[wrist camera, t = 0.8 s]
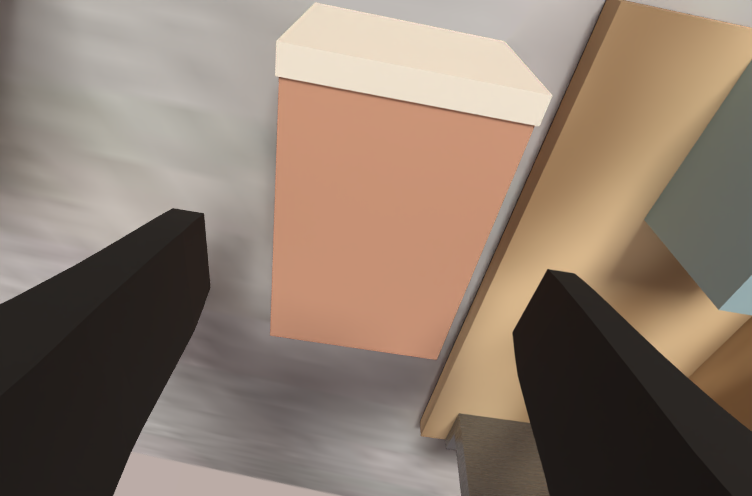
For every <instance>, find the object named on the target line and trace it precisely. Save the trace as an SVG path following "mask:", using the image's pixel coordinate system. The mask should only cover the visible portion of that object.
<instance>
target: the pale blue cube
mask: <svg viewBox="0 0 752 496" xmlns="http://www.w3.org/2000/svg"><path fill="white" fill-rule="evenodd" d="M644 220H645V222H646V223H647V224H648V225H649V226H650V228H651V229H652V230H653V231H654V232H655V234H656V235H657V236H658V237H659V239H660V240H661V241H662V242H663V243H664V245H665V246H666V247H667V248H668V249H669V251H670V252H671V253H672V254H673V255H674V257H675V258H676V259H677V260H678V262H679V263H680V264H681V265H682V266H683V268H684V269H685V270H686V271H687V272H688V274H689V275H690V276H691V277H692V278H693V280H694V281H695V282H696V283H697V285H698V286H699V287H700V288H701V289H702V291H703V292H704V293H705V294H706V295H707V297H708V298H709V299H710V300H711V301H712V303H713V304H714V305H715V306H716V308H717V309H718V310H722V311H728V312H734V313H740V314H746V315H752V60H751V62H750V63H749V64H748V66H747V67H746V69H745V70H744V72H743V73H742V75H741V76H740V78H739V79H738V81H737V82H736V84H735V85H734V87H733V88H732V90H731V91H730V93H729V94H728V96H727V97H726V99H725V100H724V102H723V103H722V104H721V106H720V107H719V109H718V110H717V112H716V113H715V115H714V116H713V118H712V119H711V121H710V122H709V124H708V125H707V127H706V128H705V130H704V131H703V133H702V134H701V136H700V137H699V139H698V140H697V142H696V143H695V145H694V146H693V147H692V149H691V150H690V152H689V153H688V155H687V156H686V158H685V159H684V161H683V162H682V164H681V165H680V167H679V168H678V170H677V171H676V173H675V174H674V176H673V177H672V179H671V180H670V182H669V183H668V185H667V186H666V187H665V189H664V190H663V192H662V193H661V195H660V196H659V198H658V199H657V201H656V202H655V204H654V205H653V207H652V208H651V210H650V211H649V213H648V214H647V216H646V217H645V219H644Z"/></svg>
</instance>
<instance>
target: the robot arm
mask: <svg viewBox="0 0 752 496" xmlns="http://www.w3.org/2000/svg"><path fill="white" fill-rule="evenodd" d="M209 290H210V278H209V266H208V254H207V243H206V231H205V220H204V213H199V212H192V211H186V210H180V209H174V208H173V209H171V210H169V211H167V212H165V213H163V214H162V215H160V216H158V217H156V218H155V219H153V220H151V221H150V222H148V223H146V224H145V225H143V226H141V227H140V228H138V229H136V230H135V231H133V232H131V233H130V234H128V235H126V236H125V237H123V238H121V239H120V240H118V241H116V242H114V243H113V244H111V245H109V246H107V247H106V248H104V249H102V250H101V251H99V252H97V253H95V254H94V255H92V256H90V257H89V258H87V259H85V260H83V261H82V262H80V263H78V264H76V265H75V266H73V267H71V268H69V269H67V270H65V271H63V272H61V273H59V274H58V275H56V276H54V277H52V278H50V279H48V280H46V281H44V282H42V283H41V284H39V285H37V286H35V287H33V288H31V289H29V290H27V291H25V292H24V293H22V294H20V295H18V296H16V297H14V298H12V299H10V300H8V301H6V302H4V303H2V304H0V496H113V494H114V492H115V489H116V487H117V485H118V482H119V480H120V477H121V475H122V472H123V470H124V468H125V465H126V463H127V460H128V458H129V456H130V453H131V451H132V449H133V447H134V445H135V443H136V441H137V439H138V437H139V435H140V433H141V431H142V429H143V427H144V425H145V423H146V421H147V419H148V417H149V415H150V414H151V412H152V410H153V408H154V406H155V404H156V402H157V400H158V399H159V397H160V395H161V393H162V391H163V389H164V387H165V385H166V384H167V382H168V380H169V378H170V376H171V374H172V372H173V370H174V369H175V367H176V365H177V363H178V361H179V359H180V357H181V355H182V353H183V352H184V350H185V348H186V346H187V344H188V342H189V340H190V338H191V336H192V334H193V332H194V330H195V328H196V325H197V323H198V320H199V317H200V315H201V312H202V310H203V307H204V304H205V301H206V298H207V296H208V293H209ZM512 335H513V344H514V353H515V361H516V368H517V375H518V379H519V383H520V387H521V391H522V394H523V398H524V402H525V406H526V409H527V413H528V417H529V420H530V424H531V428H532V431H533V435H534V439H535V442H536V446H537V449H538V453H539V457H540V460H541V464H542V468H543V471H544V475H545V479H546V483H547V487H548V492H549V496H752V431H751V430H749V429H748V428H747V427H746V426H744V425H743V424H742V423H740V422H739V421H738V420H737V419H736V418H734V417H733V416H732V415H731V414H729V413H728V412H727V411H726V410H725V409H723V408H722V407H721V406H720V405H719V404H717V403H716V402H715V401H714V400H713V399H712V398H711V397H709V396H708V395H707V394H706V393H705V392H704V391H702V390H701V389H700V388H699V387H698V386H697V385H696V384H694V383H693V382H692V381H691V380H690V379H689V378H688V377H686V376H685V375H684V374H683V373H682V372H681V371H680V370H679V369H678V368H676V367H675V366H674V365H673V364H672V363H671V362H670V361H669V360H668V359H667V358H665V357H664V356H663V355H662V354H661V353H660V352H659V351H658V350H657V349H656V348H655V347H654V346H653V345H652V344H650V343H649V342H648V341H647V340H646V339H645V338H644V337H643V336H642V335H641V334H640V333H639V332H638V331H637V330H636V329H635V328H634V327H633V326H632V325H630V324H629V323H628V322H627V321H626V320H625V319H624V318H623V317H622V316H621V315H620V314H619V313H618V312H617V311H616V310H615V309H614V308H613V307H612V306H611V305H610V304H609V303H608V302H606V301H605V300H604V299H603V298H602V297H601V296H600V295H599V294H598V293H597V292H596V291H595V290H594V289H593V288H591V287H590V286H589V285H588V284H587V283H586V282H585V281H584V280H582V279H581V278H580V277H579V276H577V275H576V274H575V273H570V272H563V271H557V270H551V269H547V271H546V273H545V274H544V276H543V278H542V280H541V282H540V283H539V285H538V287H537V289H536V291H535V292H534V294H533V296H532V298H531V300H530V301H529V303H528V305H527V307H526V309H525V310H524V312H523V314H522V316H521V318H520V319H519V321H518V323H517V325H516V327H515V328H514V330H513V332H512Z"/></svg>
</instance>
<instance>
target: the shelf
mask: <svg viewBox="0 0 752 496" xmlns="http://www.w3.org/2000/svg"><path fill="white" fill-rule="evenodd" d="M751 60H752V28H750V27H745V26H741V25H736V24H731V23H727V22H722V21H718V20H713V19H708V18H704V17H699V16H694V15H690V14H685V13H681V12H676V11H671V10H667V9H662V8H657V7H653V6H648V5H644V4H639V3H634V2H630V1H625V0H606V3H605V5H604V7H603V10H602V12H601V14H600V16H599V19H598V21H597V23H596V25H595V28H594V30H593V32H592V34H591V37H590V39H589V41H588V43H587V46H586V48H585V50H584V52H583V55H582V57H581V59H580V62H579V64H578V66H577V68H576V71H575V73H574V75H573V77H572V80H571V82H570V84H569V86H568V89H567V91H566V93H565V95H564V98H563V100H562V102H561V104H560V107H559V109H558V111H557V114H556V116H555V118H554V120H553V123H552V125H551V127H550V129H549V132H548V134H547V136H546V138H545V141H544V143H543V145H542V147H541V150H540V152H539V154H538V156H537V159H536V161H535V163H534V165H533V168H532V170H531V172H530V175H529V177H528V179H527V181H526V184H525V186H524V188H523V190H522V193H521V195H520V197H519V199H518V202H517V204H516V206H515V208H514V211H513V213H512V215H511V217H510V220H509V222H508V224H507V227H506V229H505V231H504V233H503V236H502V238H501V240H500V242H499V245H498V247H497V249H496V251H495V254H494V256H493V258H492V260H491V263H490V265H489V267H488V269H487V272H486V274H485V276H484V279H483V281H482V283H481V285H480V288H479V290H478V292H477V294H476V297H475V299H474V301H473V303H472V306H471V308H470V310H469V312H468V315H467V317H466V319H465V321H464V324H463V326H462V328H461V331H460V333H459V335H458V337H457V340H456V342H455V344H454V346H453V349H452V351H451V353H450V355H449V358H448V360H447V362H446V364H445V367H444V369H443V371H442V373H441V376H440V378H439V380H438V383H437V385H436V387H435V389H434V392H433V394H432V396H431V398H430V401H429V403H428V405H427V407H426V410H425V412H424V414H423V416H422V419H421V421H420V429H421V436H424V437H432V438H439V439H446V437H447V435H448V433H449V431H450V429H451V427H452V426H453V424H454V422H455V420H456V418H457V416H458V414H459V413H461V414H469V415H476V416H483V417H491V418H498V419H505V420H513V421H520V422H527V423H530V420H529V417H528V413H527V409H526V406H525V402H524V398H523V394H522V391H521V387H520V383H519V379H518V375H517V368H516V361H515V353H514V344H513V335H512V332H513V330H514V328H515V327H516V325H517V323H518V321H519V319H520V318H521V316H522V314H523V312H524V310H525V309H526V307H527V305H528V303H529V301H530V300H531V298H532V296H533V294H534V292H535V291H536V289H537V287H538V285H539V283H540V282H541V280H542V278H543V276H544V274H545V273H546V271H547V269H551V270H557V271H563V272H570V273H575V274H576V275H577V276H579V277H580V278H581V279H582V280H584V281H585V282H586V283H587V284H588V285H589V286H590V287H591V288H593V289H594V290H595V291H596V292H597V293H598V294H599V295H600V296H601V297H602V298H603V299H604V300H605V301H606V302H608V303H609V304H610V305H611V306H612V307H613V308H614V309H615V310H616V311H617V312H618V313H619V314H620V315H621V316H622V317H623V318H624V319H625V320H626V321H627V322H628V323H629V324H630V325H632V326H633V327H634V328H635V329H636V330H637V331H638V332H639V333H640V334H641V335H642V336H643V337H644V338H645V339H646V340H647V341H648V342H649V343H650V344H652V345H653V346H654V347H655V348H656V349H657V350H658V351H659V352H660V353H661V354H662V355H663V356H664V357H665V358H667V359H668V360H669V361H670V362H671V363H672V364H673V365H674V366H675V367H676V368H678V369H679V370H680V371H681V372H682V373H683V374H684V375H685V376H686V377H688V378H689V379H690V380H691V381H692V382H693V383H694V384H696V385H697V386H698V387H699V388H700V389H701V390H702V391H704V392H705V393H706V394H707V395H708V396H709V397H711V398H712V399H713V400H714V401H715V402H716V403H717V404H719V405H720V406H721V407H722V408H723V409H725V410H726V411H727V412H728V413H729V414H731V415H732V416H733V417H734V418H736V419H737V420H738V421H739V422H740V423H742V424H743V425H744V426H746V427H747V428H748V429H749V430H751V431H752V315H746V314H740V313H734V312H728V311H722V310H718V309H717V308H716V306H715V305H714V304H713V303H712V301H711V300H710V299H709V298H708V297H707V295H706V294H705V293H704V292H703V291H702V289H701V288H700V287H699V286H698V285H697V283H696V282H695V281H694V280H693V278H692V277H691V276H690V275H689V274H688V272H687V271H686V270H685V269H684V268H683V266H682V265H681V264H680V263H679V262H678V260H677V259H676V258H675V257H674V255H673V254H672V253H671V252H670V251H669V249H668V248H667V247H666V246H665V245H664V243H663V242H662V241H661V240H660V239H659V237H658V236H657V235H656V234H655V232H654V231H653V230H652V229H651V228H650V226H649V225H648V224H647V223H646V222H645V220H644V219H645V217H646V216H647V214H648V213H649V211H650V210H651V208H652V207H653V205H654V204H655V202H656V201H657V199H658V198H659V196H660V195H661V193H662V192H663V190H664V189H665V187H666V186H667V185H668V183H669V182H670V180H671V179H672V177H673V176H674V174H675V173H676V171H677V170H678V168H679V167H680V165H681V164H682V162H683V161H684V159H685V158H686V156H687V155H688V153H689V152H690V150H691V149H692V147H693V146H694V145H695V143H696V142H697V140H698V139H699V137H700V136H701V134H702V133H703V131H704V130H705V128H706V127H707V125H708V124H709V122H710V121H711V119H712V118H713V116H714V115H715V113H716V112H717V110H718V109H719V107H720V106H721V104H722V103H723V102H724V100H725V99H726V97H727V96H728V94H729V93H730V91H731V90H732V88H733V87H734V85H735V84H736V82H737V81H738V79H739V78H740V76H741V75H742V73H743V72H744V70H745V69H746V67H747V66H748V64H749V63H750V62H751Z"/></svg>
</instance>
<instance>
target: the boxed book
mask: <svg viewBox="0 0 752 496" xmlns="http://www.w3.org/2000/svg"><path fill="white" fill-rule="evenodd" d="M275 76H278V77H279V93H278V122H277V151H276V181H275V210H274V239H273V268H272V297H271V327H270V336H277V337H284V338H291V339H298V340H304V341H311V342H318V343H325V344H332V345H339V346H345V347H352V348H359V349H366V350H373V351H380V352H387V353H393V354H400V355H407V356H414V357H421V358H428V359H435V360H437V358H438V356H439V353H440V351H441V348H442V346H443V344H444V341H445V339H446V337H447V334H448V332H449V329H450V327H451V325H452V322H453V320H454V317H455V315H456V313H457V310H458V308H459V305H460V303H461V301H462V298H463V296H464V294H465V291H466V289H467V286H468V284H469V282H470V279H471V277H472V274H473V272H474V270H475V267H476V265H477V263H478V260H479V258H480V255H481V253H482V251H483V248H484V246H485V243H486V241H487V239H488V236H489V234H490V231H491V229H492V227H493V224H494V222H495V220H496V217H497V215H498V212H499V210H500V208H501V205H502V203H503V200H504V198H505V196H506V193H507V191H508V189H509V186H510V184H511V181H512V179H513V177H514V174H515V172H516V169H517V167H518V165H519V162H520V160H521V158H522V155H523V153H524V150H525V148H526V146H527V143H528V141H529V138H530V136H531V134H532V131H533V129H534V126H540V124H541V121H542V119H543V117H544V114H545V112H546V110H547V107H548V105H549V103H550V100H551V98H552V94H551V93H550V92H549V91H548V90H547V89H546V88H545V86H544V85H543V84H542V83H541V82H540V81H539V80H538V79H537V77H536V76H535V75H534V74H533V73H532V72H531V71H530V69H529V68H528V67H527V66H526V65H525V64H524V63H523V62H522V60H521V59H520V58H519V57H518V56H517V55H516V54H515V52H514V51H513V50H512V49H511V48H510V47H509V46H508V45H507V43H506V42H505V41H501V40H496V39H491V38H487V37H482V36H477V35H472V34H467V33H462V32H457V31H452V30H447V29H443V28H438V27H433V26H428V25H423V24H418V23H413V22H408V21H404V20H399V19H394V18H389V17H384V16H379V15H374V14H369V13H364V12H360V11H355V10H350V9H345V8H340V7H335V6H330V5H325V4H320V3H316V2H315V3H314V4H313V5H312V6H311V7H310V8H309V9H308V10H307V11H306V12H305V13H304V14H303V15H302V16H301V17H300V18H299V19H298V20H297V21H296V22H295V23H294V24H293V25H292V26H291V27H290V28H289V29H288V30H287V31H286V32H285V33H284V34H283V35H282V36H281V37H280V38H279V39H278V40H277V41H276V66H275Z"/></svg>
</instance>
